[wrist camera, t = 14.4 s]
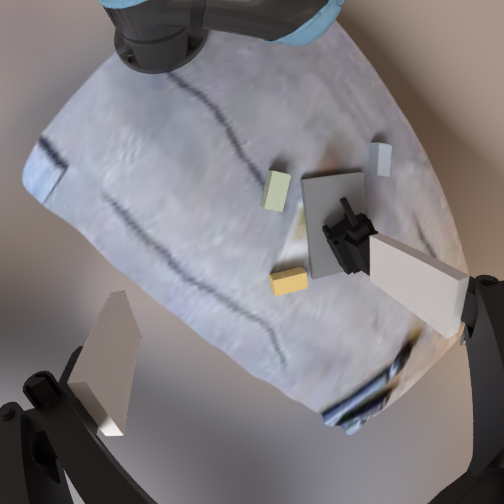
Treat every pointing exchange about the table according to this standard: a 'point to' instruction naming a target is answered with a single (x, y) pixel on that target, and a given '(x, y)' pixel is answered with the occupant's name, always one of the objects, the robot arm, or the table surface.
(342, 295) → the table surface
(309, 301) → the table surface
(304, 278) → the mustard brick
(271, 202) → the sage brick
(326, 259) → the felt pad
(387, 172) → the dusty blue brick
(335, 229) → the toy
